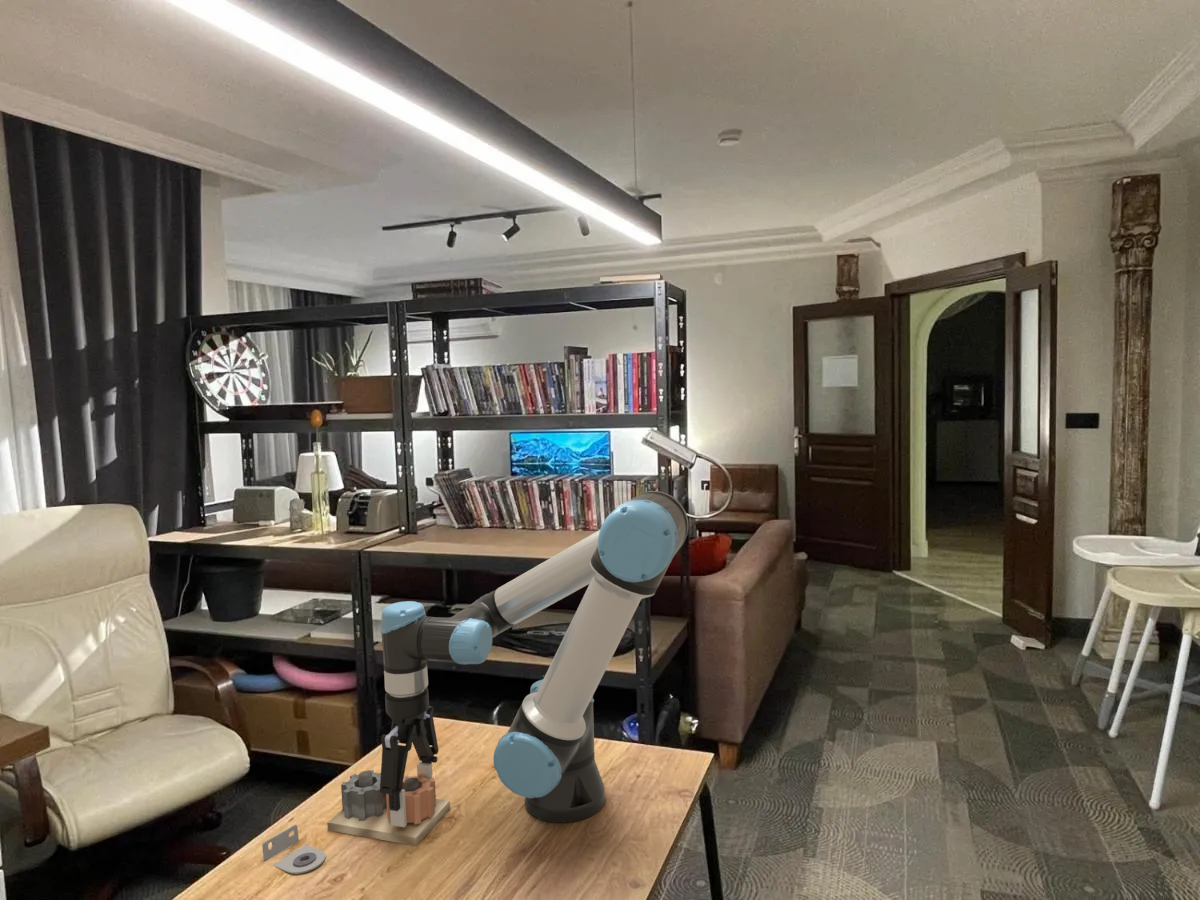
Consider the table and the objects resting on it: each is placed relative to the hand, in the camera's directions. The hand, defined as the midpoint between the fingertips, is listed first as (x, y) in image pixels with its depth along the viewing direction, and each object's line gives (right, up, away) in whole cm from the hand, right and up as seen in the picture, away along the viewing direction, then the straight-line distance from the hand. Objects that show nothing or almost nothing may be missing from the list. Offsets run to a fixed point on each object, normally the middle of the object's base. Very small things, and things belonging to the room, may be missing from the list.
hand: (412, 810), depth 139 cm
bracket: (-17, -4, -9) cm, 20 cm away
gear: (0, 0, 0) cm, 0 cm away
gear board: (-5, -2, +2) cm, 5 cm away
